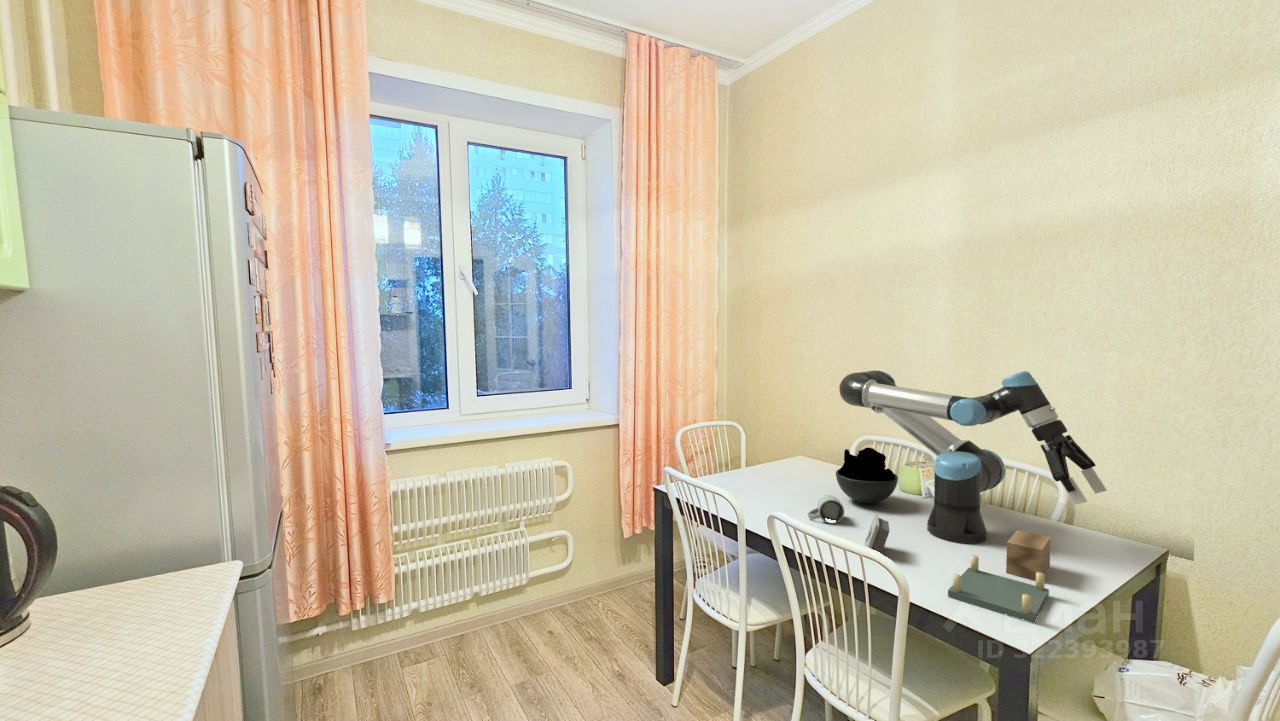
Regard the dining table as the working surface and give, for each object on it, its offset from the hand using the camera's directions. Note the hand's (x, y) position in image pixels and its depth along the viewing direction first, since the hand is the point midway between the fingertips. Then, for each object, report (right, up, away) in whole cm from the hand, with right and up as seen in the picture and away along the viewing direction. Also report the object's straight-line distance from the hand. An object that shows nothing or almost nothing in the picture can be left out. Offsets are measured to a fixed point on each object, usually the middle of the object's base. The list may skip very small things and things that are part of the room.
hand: (1091, 497), depth 142 cm
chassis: (-39, -17, -21) cm, 47 cm away
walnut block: (-23, -16, -8) cm, 29 cm away
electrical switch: (-55, -16, +5) cm, 58 cm away
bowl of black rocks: (-41, -13, +45) cm, 62 cm away
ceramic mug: (-61, -15, +29) cm, 69 cm away
